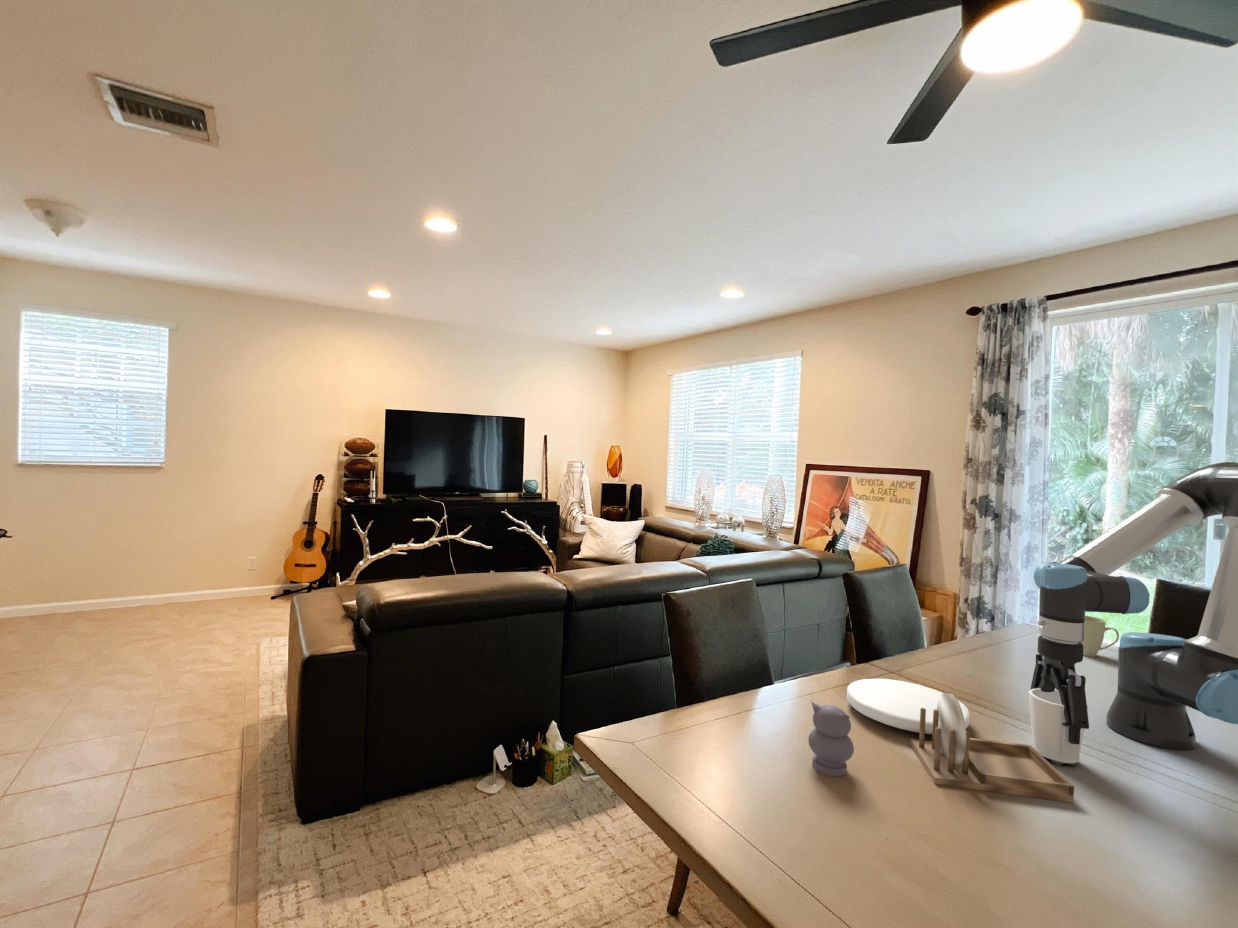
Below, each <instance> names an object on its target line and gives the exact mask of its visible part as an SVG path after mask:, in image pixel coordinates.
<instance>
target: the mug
mask: <svg viewBox="0 0 1238 928" xmlns="http://www.w3.org/2000/svg"><path fill="white" fill-rule="evenodd" d="M1106 622H1107V621H1106V620H1104V619H1102V618H1099V617H1095V616H1090V615H1085V627H1084V641H1082V642H1081V643H1082V644H1083V657H1084V656H1085V657H1089V656H1090V657H1091V658H1095V656H1096V657H1097V654H1098V653H1099V651H1102V650H1104V649H1105V650H1106V649H1108V648H1110V647H1112V646H1114V645H1116V643H1117V642H1118V641H1119V640H1120V639H1119V638H1120V633H1119V631H1118V630H1117V629H1116V628H1115V627H1106ZM1110 630H1112V631H1114V632H1115V634H1116V639H1115V640H1114V641H1113V642H1112V643H1110V644H1108V645H1106V646H1104V647H1102V644H1103V641H1104V638H1105V633H1106V632H1108V631H1110Z"/></svg>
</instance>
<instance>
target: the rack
mask: <svg viewBox="0 0 1238 928" xmlns="http://www.w3.org/2000/svg"><path fill="white" fill-rule="evenodd" d="M942 693H943V694H942V695H941V696H940V698H939V701H938V705H937V710H936V709H934V710H933V734H931V735H932V737H931V738H932V740H925V739H926V734H925V720H926V709H925V708H921V709H920V733H919V735H918V736H919V737H918V738H919V739H914V738H910V739H909V745H910V747H911V748H912V750H913V752H914V753H915V755H916V756H917V758H918V759H919V761H920V762H921V764H922V765H923V767H924V769H925V771H926V772H927V774H928V775H929V777H930V778H931V780H932V782H933V783H934V784H935V785H942V786H948V787H956V788H963V789H969V790H976V791H977V790H978V791H984V792H985V791H986V792H990V793H991V792H992V793H1000V794H1007V795H1013V796H1022V797H1028V798H1035V799H1042V800H1050V801H1057V802H1064V803H1065V802H1066V803H1074V801H1075V800H1074V797H1075V786H1074V785H1073V784H1072V783H1071V782H1070V781H1069V780H1068V779H1067V778H1066V777H1065V776H1064V775H1063V774H1062V773H1061V772H1060V771H1059V770H1058V769H1056V768H1055V767H1054V766H1053V765H1052V764H1051V763H1050V762H1049V761H1048V760H1047V758H1044V757H1043V756H1041V755H1040V754H1039V753H1038V752H1037V751H1036V750H1035V749H1034V748H1033V745H1031V744H1023V743H1016V742H1008V741H1007V742H1006V741H999V740H991V739H990V740H989V739H984V738H983V739H981V738H974V737H973V738H972V737H971V734H970V732H971V731H968V730H967V728H966V727H965V721H964V716H963V712H962V709H961V706H960V704H959V702H958V701H959V700H958V699H957V697H956V696H955V695H954V694H952V693H949V692H947V693H946V692H942Z"/></svg>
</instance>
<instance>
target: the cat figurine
mask: <svg viewBox="0 0 1238 928" xmlns="http://www.w3.org/2000/svg"><path fill="white" fill-rule="evenodd" d="M811 705H812V710H813V715H812V721H813V726H814V728H813V729H812V730H811V731H810V733H809V735H808V746H809V748H810V750H811V751H812V752H813V756H812V762H811V763H812V765H811V766H812V767H813V768H814V769H813V770H816V771H817V772H819V773H820V774H822V775H824V776H825V775H826V776H830V777H843V776H844V775H846V774H847V769H848V764H847V761H850V759H851V758H852V757H853V754H854V751H855V747H854V743H853V741H852V739H851V737H850V736H849V733H850V732H851V729H852V723H851V719H850V715H848V714H847V713H846V712H845V711H844V710H843V709H841V708H840V707H838V706H836V705H832V704H823V705H819V704H817V703H815V702H814V701H811Z"/></svg>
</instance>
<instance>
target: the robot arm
mask: <svg viewBox="0 0 1238 928" xmlns="http://www.w3.org/2000/svg"><path fill="white" fill-rule="evenodd" d="M1219 515H1222V516H1221V520H1222V521H1223V522H1224V523H1225V524H1226V526H1228V528H1229V529H1228V532H1227V535H1226V539H1225V542H1224V545H1223V549H1222V552H1221V556H1220V559H1219V562H1218V566H1217V570H1216V572H1215V574H1214V579H1213V583H1212V586H1211V589H1210V592H1209V596H1208V600H1207V603H1206V606H1205V609H1204V611H1203V617H1202V619H1201V623H1200V625H1199V630H1198V633H1197V635H1195V636H1193V637H1191V638H1188V639H1186V638H1183V637H1180V636H1174V635H1166V634H1160V633H1149V632H1134V631H1133V632H1125V633H1122V635H1121V636H1120V637H1119V638H1120V639H1119V646H1118V648H1117V649H1118V650H1117V651H1118V652H1117V653H1118V657H1117V658H1118V662H1117V663H1118V664H1117V692H1116V695H1115V697H1114V699H1113V701H1112V702H1111V705H1110V707H1109V709H1108V711H1106V718H1105V719H1106V720H1105V721H1106V725H1107V726H1108V727H1109V728H1110V729H1111V730H1113V731H1114V732H1115V733H1118V734H1120V735H1122V736H1124V737H1127V738H1128V739H1132V740H1134V741H1138V742H1141V743H1144V744H1147V745H1151V746H1155V747H1160V748H1164V749H1171V750H1182V751H1186V750H1193V749H1195V748H1196V742H1197V741H1196V739H1197V737H1196V733H1195V729H1194V728H1193V725H1192V721H1191V719H1190V717H1189V714H1188V712H1187V707H1189V708H1191V709H1193V710H1196V711H1198V712H1199V713H1200V712H1201V713H1202V714H1203V715H1205V716H1207V717H1208V718H1209V717H1210V718H1212V719H1216V720H1220V721H1222V722H1224V723H1228V724H1231V725H1238V461H1237V462H1235V461H1234V462H1233V461H1229V462H1228V461H1227V462H1226V461H1224V462H1218V463H1212V464H1209V465H1205V466H1201V467H1200V468H1198V469H1195V470H1193V471H1191V472H1189V473H1186V474H1184V475H1182V476H1181V477H1179V478H1177V479H1175V480H1173V481H1171V482H1170V483H1169V484H1166V486H1164V487H1162V488H1160V489H1159V490H1158V491H1157V492H1156V493H1155V498H1154V499H1153V500H1152V501H1150V502H1149V503H1147V504H1146V505H1144V506H1143V507H1141V508H1139V509H1138V510H1136V511H1135V512H1134V513H1132V514H1131V515H1128V516H1127V517H1126V518H1124V519H1122V520H1121V521H1120V522H1119V523H1117V524H1115V525H1113V526H1112V527H1111V528H1110V529H1108V530H1106V531H1105V532H1103V533H1101V535H1099V536H1097V537H1096V538H1094V539H1092V541H1090V542H1089V543H1086V544H1085V545H1084V546H1082V547H1081V548H1080V549H1077V551H1074V552H1073V553H1072V554H1071V555H1069V556H1067V557H1065V558H1064V559H1062V560H1060V561H1059V562H1056V561H1045V562H1043V563H1040V564H1038V566H1037V567H1036V568H1035V569H1034V572H1033V580H1034V584H1035V585H1036V587H1037V588H1038V589H1039V616H1038V618H1039V619H1038V620H1037V622H1036V623H1037V625H1038V633H1039V636H1038V637H1037V653H1036V654H1035V666H1034V670H1033V675H1032V680H1031V684H1030V689H1029V690H1031V689H1036V688H1040V689H1041V691H1043V692H1054V690H1057V691H1059V693H1060V698H1061V702H1062V705H1064V716H1065V720H1066V723H1062V725H1063V736H1062V757H1064V758H1070V759H1078V760H1080V756H1079V751H1080V730H1081V728H1083V729H1084V730H1089V728H1090V722H1089V713H1088V712H1089V711H1088V710H1087V703H1088V702H1087V695H1086V682H1087V679H1086V677H1085V675H1079V674H1077V672H1076V667H1075V665H1076V664H1078V663H1081V662H1083V659H1084V655H1083V644H1082V643H1081V642H1082V641H1084V627H1085V616H1086V612H1087V613H1103V614H1104V613H1109V614H1122V615H1127V614H1128V615H1129V614H1131V615H1132V614H1141V613H1143V612H1144V611H1145V610H1146V609H1148V607H1149V604H1150V592H1149V589H1148V588H1147V586H1146V585H1145V583H1144V582H1142V581H1141V580H1140V579H1138V578H1136V577H1129V576H1123V575H1119V576H1118V575H1117V576H1114V575H1111V574H1112V573H1114V572H1115V571H1117V570H1119V569H1121V568H1122V567H1123V566H1125V565H1126V564H1128V563H1129V562H1131V561H1132V560H1134V559H1136V558H1137V557H1139V556H1140V555H1142V554H1144V552H1146V551H1148V550H1149V549H1150V548H1153V547H1154V546H1156V545H1157V544H1158V543H1160V542H1161V541H1163V540H1164V539H1166V538H1168V537H1169V536H1171V535H1172V534H1174V533H1175V532H1177V531H1178V530H1181V528H1183V527H1185V526H1186V525H1188V524H1189V525H1190V524H1191V525H1195V524H1199V523H1201V522H1202V521H1203V520H1205V519H1207V518H1209V517H1213V516H1219ZM1086 702H1087V703H1086ZM1080 752H1081V751H1080Z"/></svg>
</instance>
